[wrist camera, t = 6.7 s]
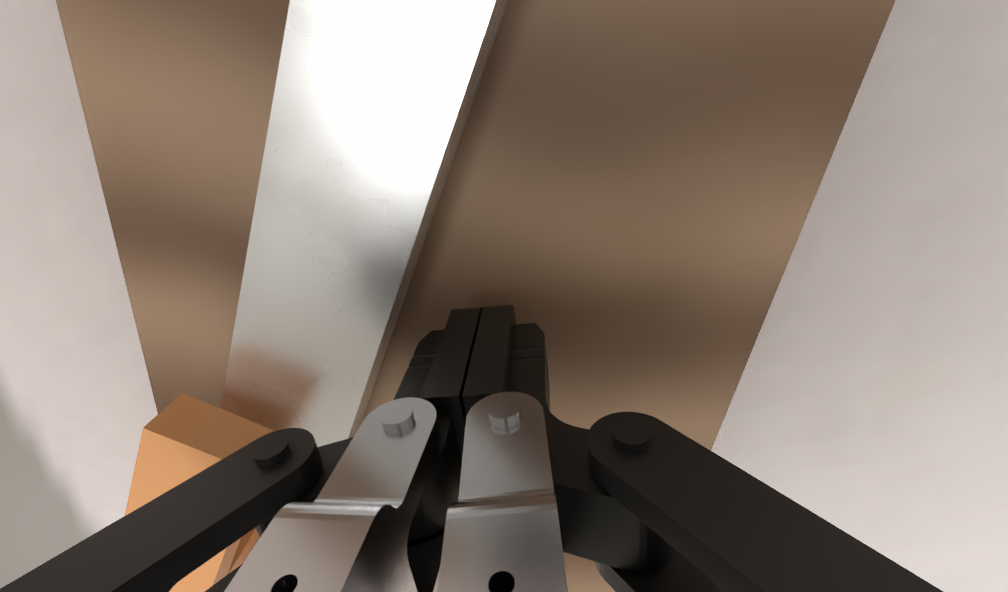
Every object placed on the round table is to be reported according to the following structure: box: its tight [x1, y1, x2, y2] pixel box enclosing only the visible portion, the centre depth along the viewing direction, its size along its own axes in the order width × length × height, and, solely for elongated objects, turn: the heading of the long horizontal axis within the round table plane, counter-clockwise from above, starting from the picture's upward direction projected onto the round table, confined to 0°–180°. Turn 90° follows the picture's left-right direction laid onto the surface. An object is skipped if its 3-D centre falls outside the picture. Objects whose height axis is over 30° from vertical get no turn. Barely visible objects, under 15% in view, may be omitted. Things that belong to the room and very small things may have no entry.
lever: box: [220, 0, 508, 447], centre depth 11 cm, size 19×4×2 cm, turn 158°
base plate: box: [56, 0, 895, 592], centre depth 12 cm, size 25×17×5 cm
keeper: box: [125, 393, 274, 592], centre depth 14 cm, size 9×2×4 cm, turn 153°
